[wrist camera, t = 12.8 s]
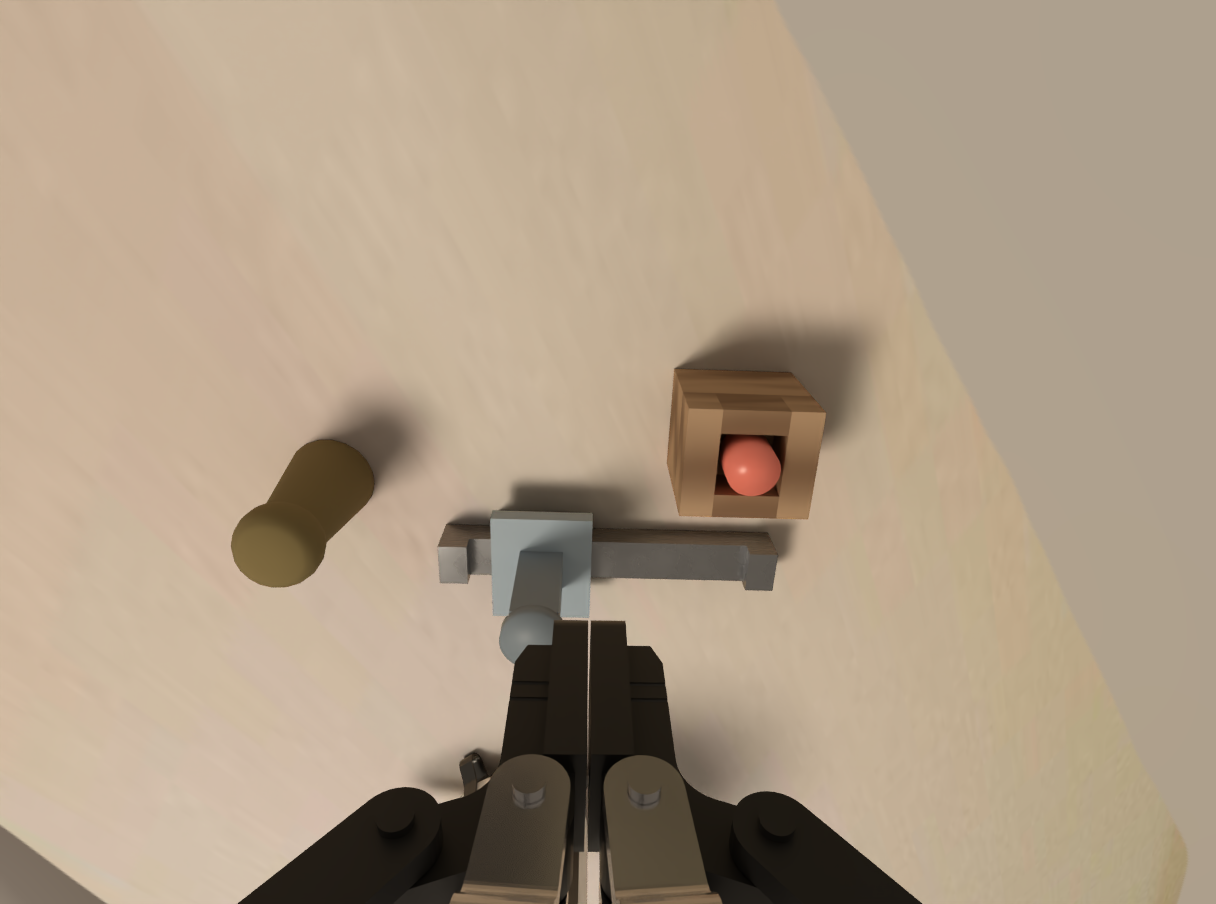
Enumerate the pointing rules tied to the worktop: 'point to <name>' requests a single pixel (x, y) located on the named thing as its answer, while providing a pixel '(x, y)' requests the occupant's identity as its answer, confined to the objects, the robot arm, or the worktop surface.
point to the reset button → (749, 463)
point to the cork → (302, 514)
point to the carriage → (538, 574)
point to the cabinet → (742, 407)
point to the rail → (633, 555)
